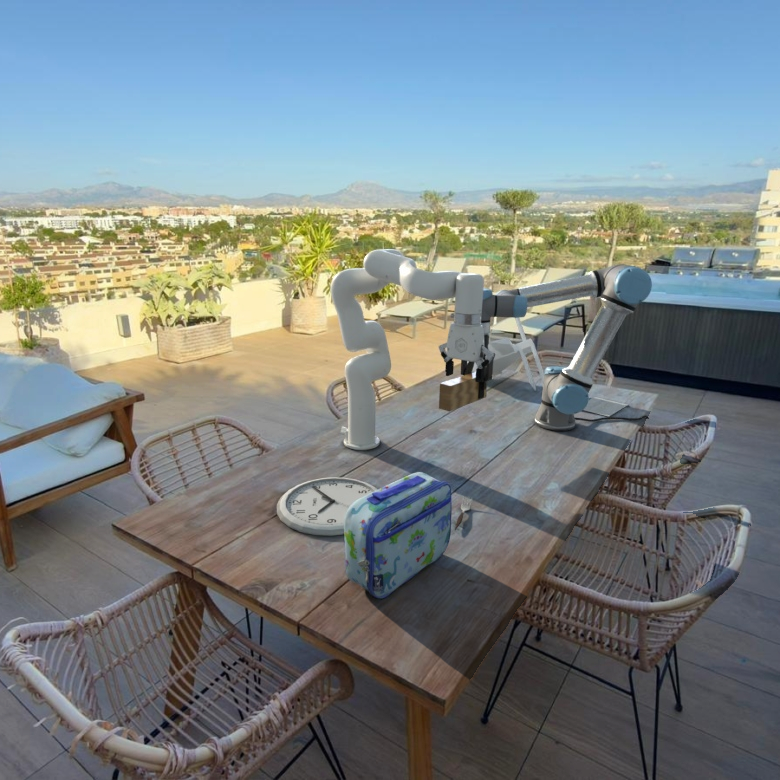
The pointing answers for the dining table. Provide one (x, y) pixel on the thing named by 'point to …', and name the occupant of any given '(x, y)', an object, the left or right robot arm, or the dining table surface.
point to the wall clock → (321, 504)
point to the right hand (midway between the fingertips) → (474, 396)
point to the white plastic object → (513, 354)
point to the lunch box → (397, 532)
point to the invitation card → (603, 406)
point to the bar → (459, 392)
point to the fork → (464, 508)
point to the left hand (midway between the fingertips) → (463, 378)
